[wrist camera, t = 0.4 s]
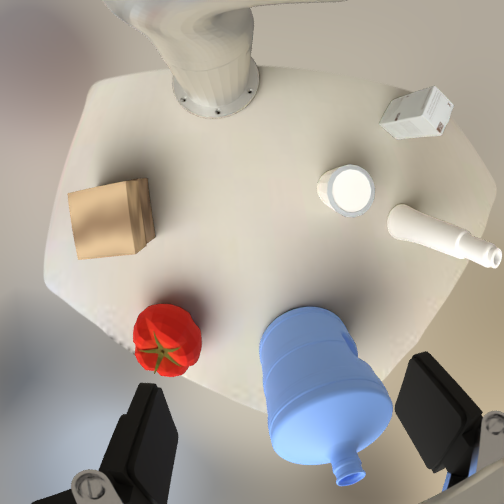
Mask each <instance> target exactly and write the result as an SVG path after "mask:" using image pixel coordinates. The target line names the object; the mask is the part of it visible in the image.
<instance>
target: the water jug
mask: <svg viewBox="0 0 504 504" xmlns="http://www.w3.org/2000/svg"><path fill="white" fill-rule="evenodd" d="M259 354H260V361H261V364H262V371H263V387H264V393H265V397H266V403H267V411H268V428H269V434H270V438H271V442H272V446H273V448H274V450H275V452H276V453H277V454H278V455H279V456H280V457H282V458H283V459H285V460H287V461H290V462H293V463H297V464H303V465H318V464H326V463H331V464H332V467H333V473H334V474H335V475H336V477H337V481H336V483H337V485H339V486H347V485H351V484H353V483H356V482H358V481H360V480H361V479H362V478H364V477H365V475H366V473H365V471H364V470H363V469H362V467H361V464H362V463H361V460H360V458H359V457H358V454H357V452H359V451H361V450H362V449H364V448H366V447H367V446H368V445H370V444H371V443H372V442H374V441H375V440H376V439H377V438H378V437H379V436H380V435H381V434H382V433H383V431H384V430H385V429H386V427H387V426H388V424H389V422H390V419H391V417H392V412H393V405H392V401H391V399H390V397H389V395H388V392H387V390H386V388H385V386H384V385H383V383H382V382H381V380H380V379H379V378H378V377H377V375H376V374H375V373H374V371H373V370H372V368H371V367H370V366H369V365H368V364H367V363H366V362H365V361H363V360H361V359H359V358H358V351H357V347H356V344H355V342H354V340H353V339H352V337H351V336H350V334H349V333H348V330H347V328H346V326H345V325H344V323H343V322H342V321H341V319H340V318H339V317H338V316H337V315H335V314H334V313H332V312H331V311H329V310H326V309H323V308H319V307H301V308H297V309H293V310H291V311H288V312H286V313H284V314H282V315H281V316H279V317H278V318H276V319H275V320H274V321H273V322H272V323H271V324H270V325H269V326H268V327H267V329H266V330H265V332H264V334H263V336H262V338H261V341H260V346H259Z"/></svg>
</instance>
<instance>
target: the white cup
mask: <svg viewBox="0 0 504 504" xmlns="http://www.w3.org/2000/svg"><path fill="white" fill-rule="evenodd" d="M317 192H318V195H319V198H320V199H321V200H322V201H323V203H325V204H326V205H327V206H329V207H330V208H332V209H333V210H334V211H336V212H338V213H339V214H341V215H343V216H345V217H357V216H360V215H362V214H364V213H365V212H366V211H367V210H368V209H369V208H370V207H371V205H372V202H373V200H374V195H375V187H374V183H373V179H372V178H371V176H370V175H369V173H368V172H367V171H366V170H364V169H363V168H361V167H360V166H357V165H350V164H349V165H345V166H342V167H338V168H336V169H333V170H330V171H327V172H325V173H324V174H323V175H322V176H321V177H320V179H319V181H318V184H317Z"/></svg>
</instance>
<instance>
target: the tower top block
mask: <svg viewBox="0 0 504 504" xmlns="http://www.w3.org/2000/svg"><path fill="white" fill-rule="evenodd" d="M68 202H69V210H70V217H71V223H72V230H73V235H74V241H75V246H76V251H77V256H78V260H82V259H92V258H102V257H112V256H122V255H132V254H136V253H138V252H139V251H140V250H142V249H143V248H144V247H145V246H147V245H146V239H145V232H144V225H143V218H142V210H141V202H140V194H139V184H138V181H124V182H118V183H113V184H108V185H103V186H98V187H94V188H89V189H85V190H80V191H76V192H72V193H68Z"/></svg>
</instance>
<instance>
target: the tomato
mask: <svg viewBox="0 0 504 504" xmlns="http://www.w3.org/2000/svg"><path fill="white" fill-rule="evenodd" d="M133 342H134V343H135V345H136V347H135V356H136V358H137V360H138V362H139V363H140V364H141V365H142V367H143V368H144V369H145V370H151V371H154V374H155V372H156V371H157V372H158V373H159V374H160V375H161V376H168V377H174V376H179V375H182V374H184V373H185V372H186V370H187V369H188V367H189V366H192V365H194V364H195V363H196V362H197V361H198V358H199V356H200V352H201V347H202V340H201V331H200V329H199V327H198V326H197V325H196V324H195V323H194V321H193V320H192V318H191V315H190V313H188V312H187V311H185V310H184V309H182V308H181V307H178V306H175V305H172V304H156V305H152V306H148V307H147V308H146V309H145V310H144V311H143V312H141V313H140V314H139V316H138V318H137V321H136V323H135V326H134V330H133Z"/></svg>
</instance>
